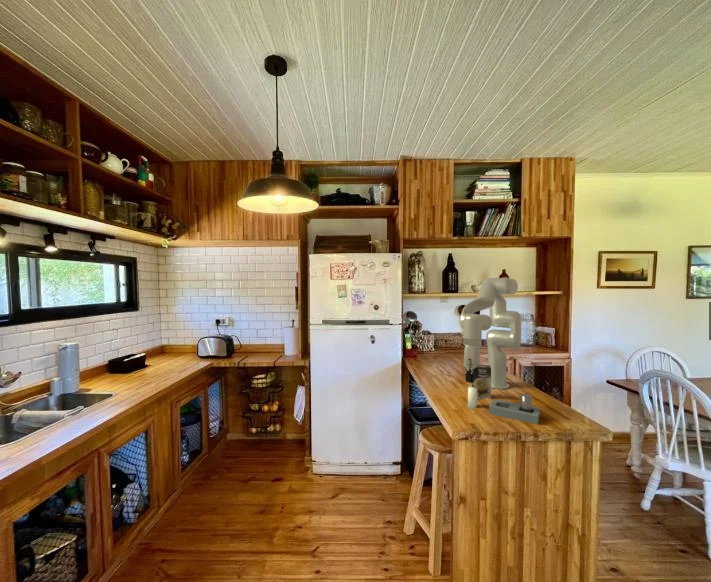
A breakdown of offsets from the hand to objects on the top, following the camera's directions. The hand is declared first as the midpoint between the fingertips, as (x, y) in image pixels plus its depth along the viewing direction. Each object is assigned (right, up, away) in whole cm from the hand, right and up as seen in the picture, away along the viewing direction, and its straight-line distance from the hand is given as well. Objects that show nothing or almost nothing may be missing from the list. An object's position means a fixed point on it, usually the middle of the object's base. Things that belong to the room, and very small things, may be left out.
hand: (472, 379), depth 138 cm
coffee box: (+10, -13, +14) cm, 21 cm away
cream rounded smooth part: (0, -13, +1) cm, 13 cm away
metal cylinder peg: (+18, -12, -11) cm, 25 cm away
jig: (+15, -13, -9) cm, 21 cm away
